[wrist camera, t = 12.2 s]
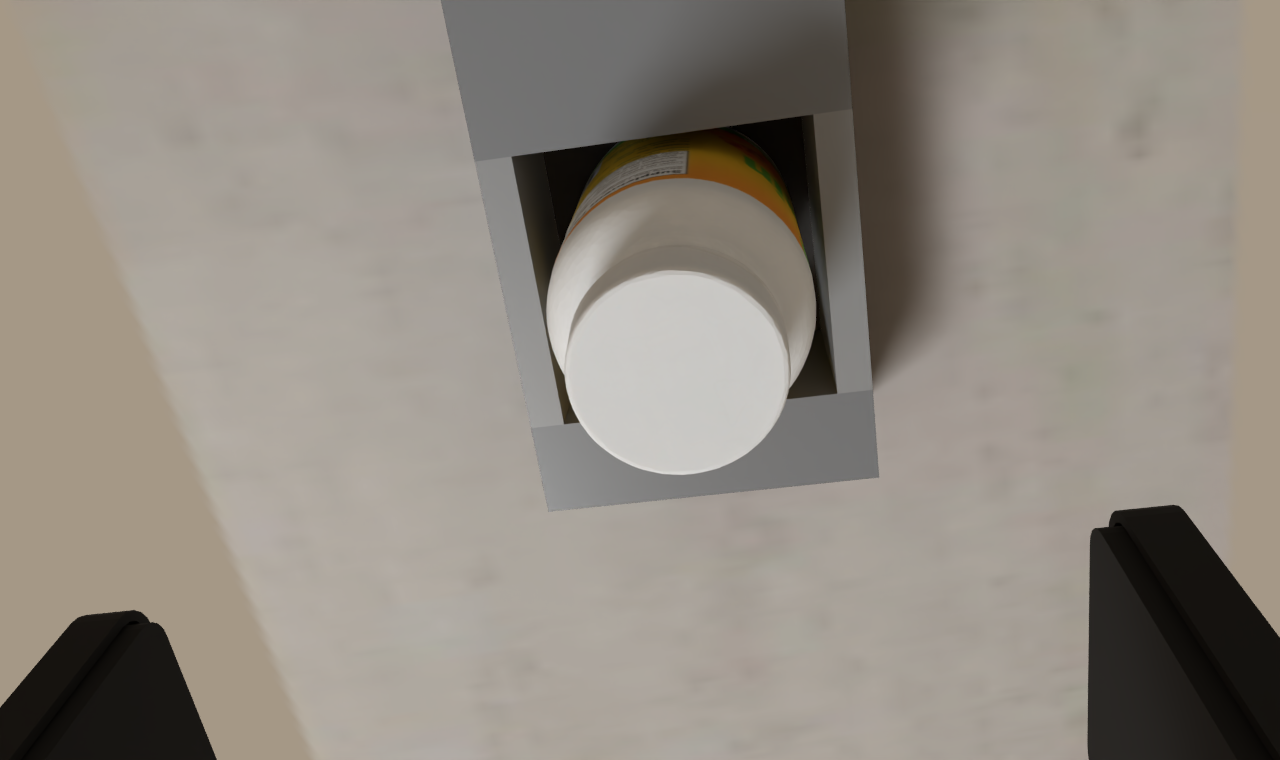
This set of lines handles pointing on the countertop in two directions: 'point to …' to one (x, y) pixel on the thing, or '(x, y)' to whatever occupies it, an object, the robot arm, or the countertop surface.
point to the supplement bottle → (682, 301)
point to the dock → (654, 106)
